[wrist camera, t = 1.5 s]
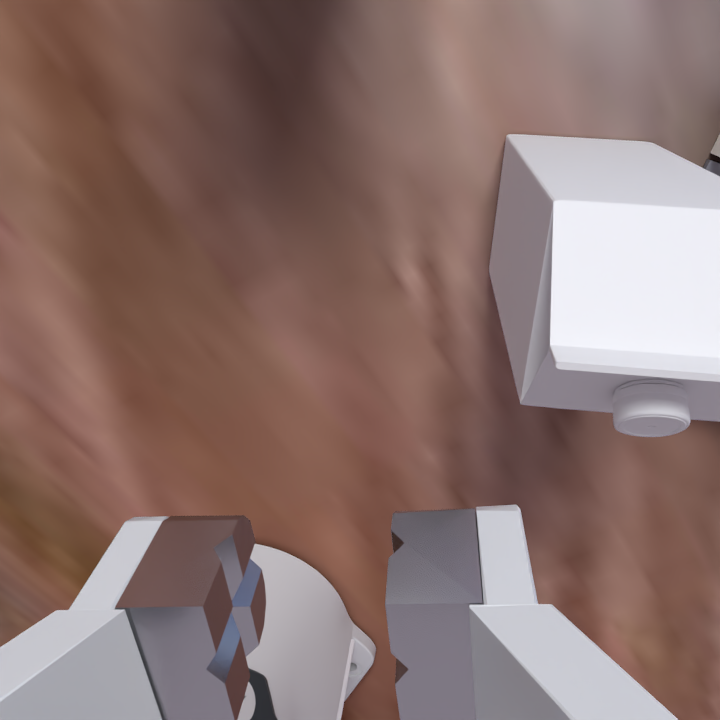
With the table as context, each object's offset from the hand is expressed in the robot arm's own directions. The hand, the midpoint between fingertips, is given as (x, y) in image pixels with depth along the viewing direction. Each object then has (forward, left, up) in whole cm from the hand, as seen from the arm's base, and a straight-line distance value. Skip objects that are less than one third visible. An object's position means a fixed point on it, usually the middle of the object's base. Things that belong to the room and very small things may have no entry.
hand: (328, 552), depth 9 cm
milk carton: (0, -8, -29) cm, 31 cm away
